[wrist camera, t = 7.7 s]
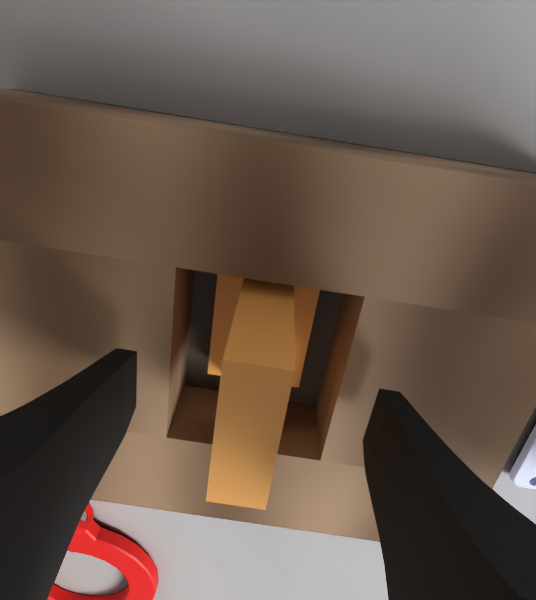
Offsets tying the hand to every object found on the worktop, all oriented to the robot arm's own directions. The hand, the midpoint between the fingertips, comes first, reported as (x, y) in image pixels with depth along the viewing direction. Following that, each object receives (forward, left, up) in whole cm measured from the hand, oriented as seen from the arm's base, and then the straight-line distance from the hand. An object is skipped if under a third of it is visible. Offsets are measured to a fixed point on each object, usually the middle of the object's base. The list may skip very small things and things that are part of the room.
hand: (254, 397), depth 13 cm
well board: (0, 0, -5) cm, 5 cm away
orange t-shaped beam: (0, -1, -4) cm, 4 cm away
